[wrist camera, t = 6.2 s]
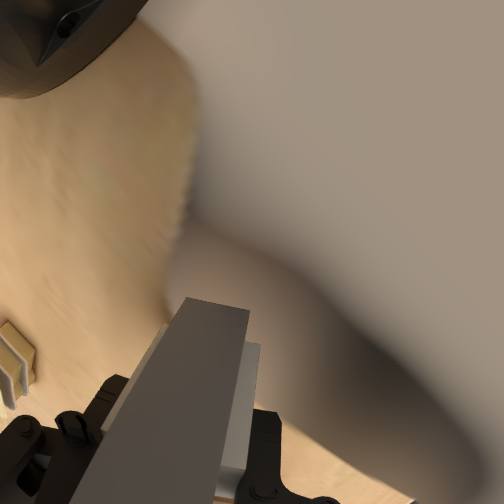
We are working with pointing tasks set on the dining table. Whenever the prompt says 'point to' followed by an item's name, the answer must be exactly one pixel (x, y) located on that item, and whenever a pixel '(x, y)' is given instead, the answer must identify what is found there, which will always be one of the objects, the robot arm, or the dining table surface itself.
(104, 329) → the dining table surface
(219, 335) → the pull block
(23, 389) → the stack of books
